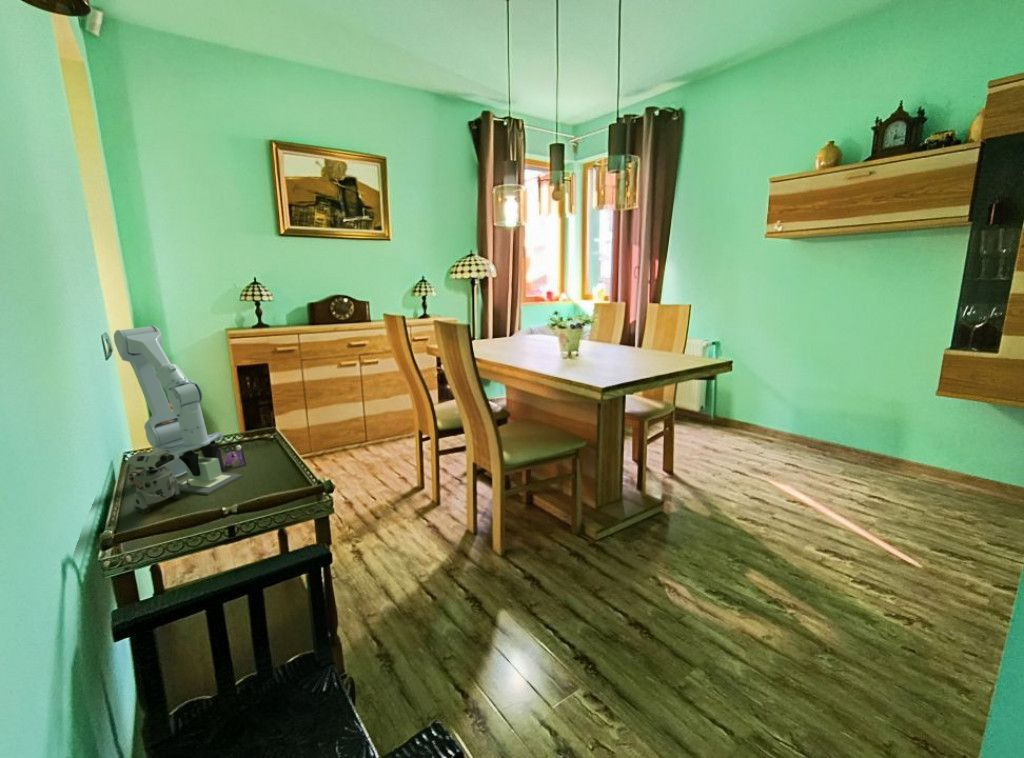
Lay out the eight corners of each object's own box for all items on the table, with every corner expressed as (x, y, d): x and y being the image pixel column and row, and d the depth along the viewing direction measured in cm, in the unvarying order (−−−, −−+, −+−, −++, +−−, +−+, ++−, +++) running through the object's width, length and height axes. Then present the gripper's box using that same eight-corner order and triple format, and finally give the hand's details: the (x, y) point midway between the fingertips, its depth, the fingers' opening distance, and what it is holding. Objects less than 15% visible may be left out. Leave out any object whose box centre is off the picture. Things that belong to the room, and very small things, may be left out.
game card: (207, 451, 140) (241, 443, 145) (208, 451, 145) (242, 444, 149) (211, 473, 140) (246, 465, 144) (213, 473, 144) (246, 465, 149)
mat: (165, 489, 132) (165, 487, 132) (201, 472, 142) (201, 469, 142) (208, 494, 127) (207, 492, 127) (242, 476, 137) (242, 474, 137)
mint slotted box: (209, 481, 131) (205, 464, 130) (188, 478, 134) (184, 462, 133) (222, 474, 135) (218, 458, 134) (201, 472, 138) (197, 456, 136)
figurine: (156, 519, 116) (140, 462, 112) (133, 510, 121) (116, 456, 117) (195, 501, 124) (181, 448, 120) (171, 494, 129) (157, 442, 125)
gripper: (178, 437, 123) (190, 485, 126) (226, 418, 136) (236, 462, 140) (158, 435, 125) (171, 482, 129) (208, 417, 138) (218, 460, 142)
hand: (204, 471), depth 134 cm, fingers closed on mint slotted box, 4 cm apart
